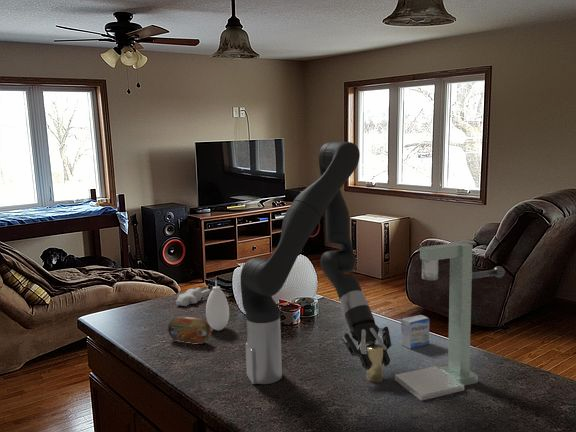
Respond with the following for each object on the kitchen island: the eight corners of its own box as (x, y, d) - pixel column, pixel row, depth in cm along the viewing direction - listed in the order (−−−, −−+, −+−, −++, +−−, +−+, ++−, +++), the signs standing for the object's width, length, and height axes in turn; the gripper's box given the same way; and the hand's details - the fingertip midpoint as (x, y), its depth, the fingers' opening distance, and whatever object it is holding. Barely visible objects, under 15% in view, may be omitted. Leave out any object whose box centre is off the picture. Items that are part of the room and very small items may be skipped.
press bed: (421, 400, 128) (422, 255, 122) (394, 380, 139) (395, 245, 133) (516, 377, 138) (521, 242, 132) (484, 360, 149) (488, 234, 143)
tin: (168, 341, 171) (166, 316, 170) (173, 337, 174) (172, 313, 172) (207, 346, 165) (206, 321, 164) (212, 343, 168) (211, 318, 167)
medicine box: (409, 349, 158) (410, 322, 157) (400, 344, 162) (400, 318, 161) (429, 344, 162) (429, 317, 160) (419, 339, 166) (420, 313, 164)
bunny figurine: (170, 296, 207) (195, 282, 219) (172, 307, 208) (197, 293, 220) (187, 299, 202) (212, 285, 214) (189, 311, 203) (213, 296, 215)
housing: (371, 383, 137) (371, 350, 136) (363, 376, 141) (363, 344, 140) (386, 380, 139) (386, 347, 137) (377, 373, 143) (377, 341, 142)
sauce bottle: (234, 327, 181) (231, 278, 178) (219, 335, 174) (217, 283, 172) (217, 324, 185) (214, 275, 182) (202, 331, 179) (199, 280, 176)
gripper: (337, 307, 142) (358, 366, 132) (383, 300, 147) (406, 356, 137) (329, 320, 147) (349, 377, 138) (374, 312, 152) (395, 367, 143)
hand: (378, 366), depth 138 cm, fingers open, 5 cm apart
